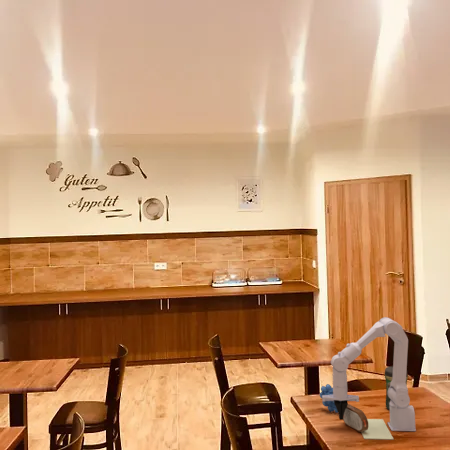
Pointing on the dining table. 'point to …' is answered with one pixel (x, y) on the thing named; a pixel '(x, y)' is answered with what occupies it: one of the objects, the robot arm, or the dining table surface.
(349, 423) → the tin
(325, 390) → the grapes
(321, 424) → the dining table surface
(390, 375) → the coffee jar
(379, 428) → the mat
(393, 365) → the robot arm
